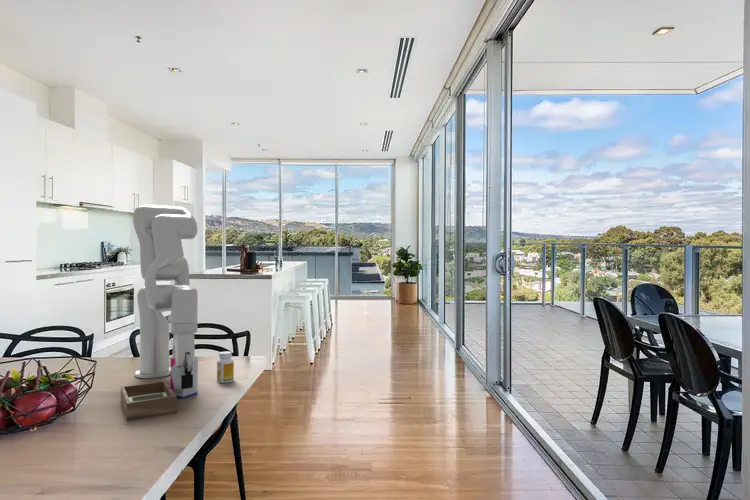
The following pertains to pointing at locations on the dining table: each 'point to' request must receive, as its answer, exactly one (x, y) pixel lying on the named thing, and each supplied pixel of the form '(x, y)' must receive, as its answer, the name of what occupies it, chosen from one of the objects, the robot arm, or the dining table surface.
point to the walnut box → (147, 400)
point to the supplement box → (176, 379)
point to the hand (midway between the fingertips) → (184, 384)
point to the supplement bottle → (225, 367)
